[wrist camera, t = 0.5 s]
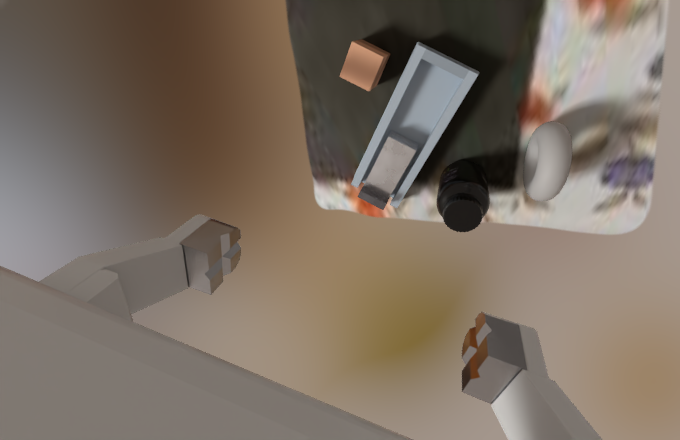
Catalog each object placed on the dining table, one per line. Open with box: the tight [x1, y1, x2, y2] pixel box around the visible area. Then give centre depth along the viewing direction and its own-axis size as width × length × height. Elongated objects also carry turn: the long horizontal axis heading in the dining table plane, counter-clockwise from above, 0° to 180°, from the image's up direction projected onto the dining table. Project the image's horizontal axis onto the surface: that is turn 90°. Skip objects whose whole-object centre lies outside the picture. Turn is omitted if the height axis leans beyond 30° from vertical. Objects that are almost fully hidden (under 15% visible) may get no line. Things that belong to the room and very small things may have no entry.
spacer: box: [340, 39, 390, 91], centre depth 45 cm, size 4×4×5 cm
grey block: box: [358, 131, 419, 210], centre depth 50 cm, size 10×4×5 cm, turn 158°
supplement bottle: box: [437, 160, 490, 232], centre depth 46 cm, size 7×7×12 cm
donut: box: [523, 121, 572, 201], centre depth 42 cm, size 10×4×10 cm, turn 4°
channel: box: [351, 42, 480, 208], centre depth 48 cm, size 22×9×4 cm, turn 158°
